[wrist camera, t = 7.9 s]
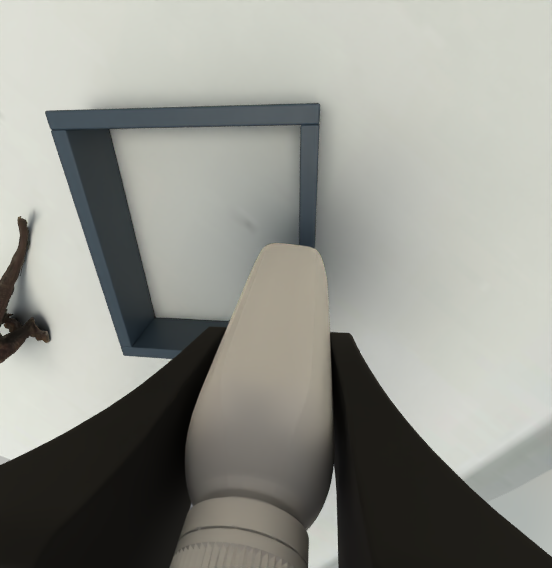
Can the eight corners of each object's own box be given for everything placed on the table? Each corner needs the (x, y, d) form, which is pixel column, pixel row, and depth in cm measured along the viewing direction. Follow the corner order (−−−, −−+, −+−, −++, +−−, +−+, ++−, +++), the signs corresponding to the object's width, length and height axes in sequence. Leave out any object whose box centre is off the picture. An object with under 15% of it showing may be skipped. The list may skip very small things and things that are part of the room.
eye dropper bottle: (213, 317, 15) (-49, 828, 4) (280, 220, 12) (34, 914, 2) (291, 363, 15) (232, 892, 5) (370, 281, 13) (586, 1019, 2)
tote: (311, 334, 23) (310, 368, 20) (147, 325, 25) (123, 355, 22) (320, 104, 16) (320, 102, 13) (91, 110, 18) (43, 110, 15)
